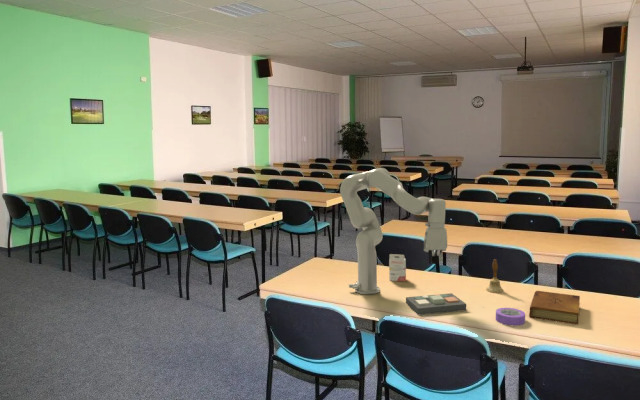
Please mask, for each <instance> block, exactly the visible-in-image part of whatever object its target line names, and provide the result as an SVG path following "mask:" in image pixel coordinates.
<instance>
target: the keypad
mask: <svg viewBox="0 0 640 400" xmlns="http://www.w3.org/2000/svg"><path fill="white" fill-rule="evenodd" d="M436 295H440V296H441V297H443V298H444V297H455V298H456V299H458V300H459V302H454V303H447V302H446V301H445V300H444V303H443V304H432V303H431V302H430V301H429V298H430V296H436ZM422 299H426V300H427V301H428V302H429V303H430V305H421V306H418V305H417V304H416V303H415V300H422ZM405 304H406V305H407V306H408V307H409V308H410V309H411V310H412V311H413V312H414V313H415V314H416V315H418V316H419V315H429V314H440V313H442V314H443V313H452V312H463V311H467V303H466V302H464V301H463V300H462V299H460V297H458V296H456V295H455V294H453V293H451V292H450V293H440V294H439V293H438V294H431V295H429V294H428V295H427V294H426V295H417V296H416V295H415V296H406V297H405Z"/></svg>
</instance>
